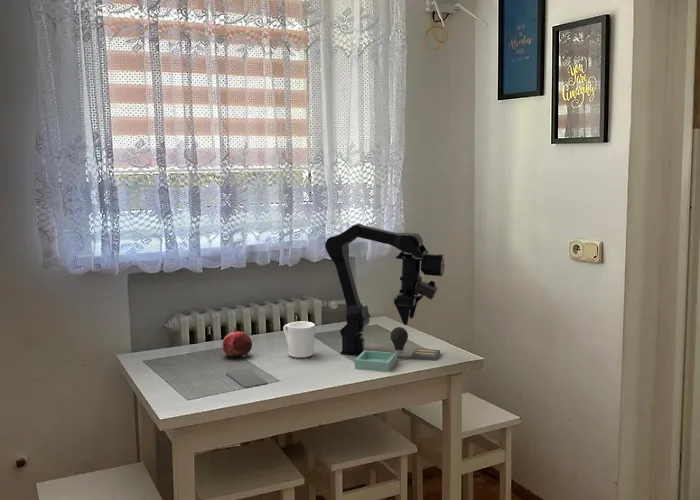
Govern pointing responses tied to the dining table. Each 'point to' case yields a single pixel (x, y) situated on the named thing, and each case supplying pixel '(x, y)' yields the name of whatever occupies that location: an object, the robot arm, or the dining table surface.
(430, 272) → the robot arm
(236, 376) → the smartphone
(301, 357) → the mug
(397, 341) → the light bulb
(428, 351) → the pad
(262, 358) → the dining table surface
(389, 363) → the teal square tray
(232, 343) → the fruit
